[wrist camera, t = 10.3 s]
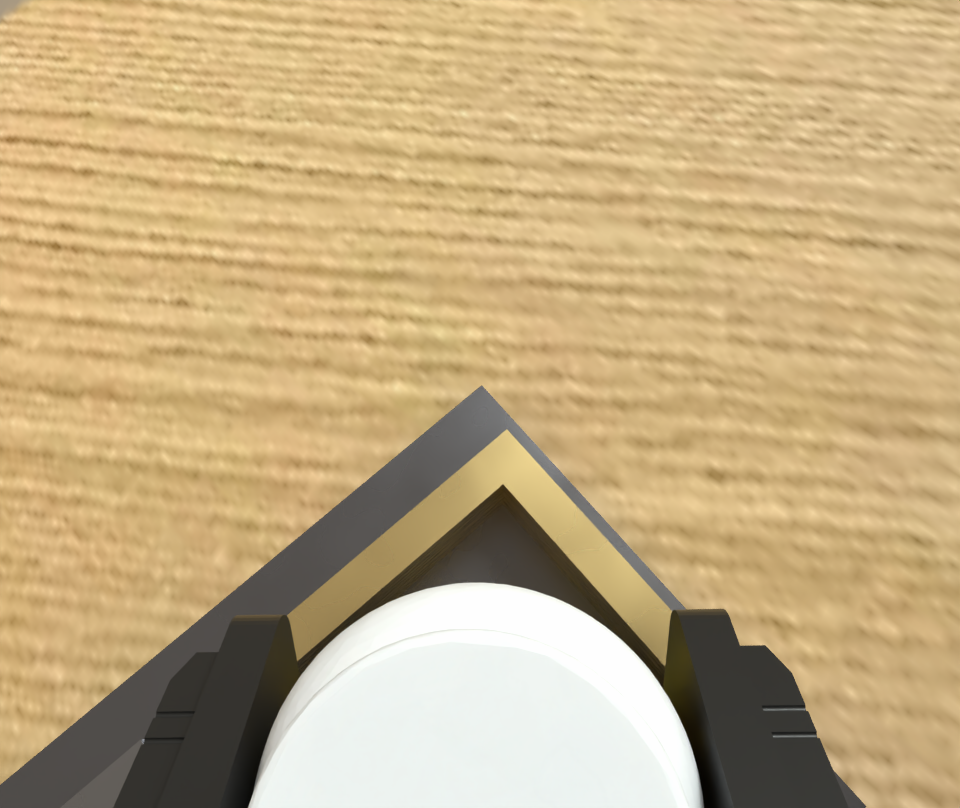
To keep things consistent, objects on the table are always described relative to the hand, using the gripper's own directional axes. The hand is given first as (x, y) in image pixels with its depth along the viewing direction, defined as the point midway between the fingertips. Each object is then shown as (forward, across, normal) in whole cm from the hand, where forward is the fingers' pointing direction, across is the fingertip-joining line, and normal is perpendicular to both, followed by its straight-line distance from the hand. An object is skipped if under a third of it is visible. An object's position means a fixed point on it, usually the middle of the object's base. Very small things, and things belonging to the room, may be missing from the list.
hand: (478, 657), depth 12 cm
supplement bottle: (+2, 0, +5) cm, 5 cm away
